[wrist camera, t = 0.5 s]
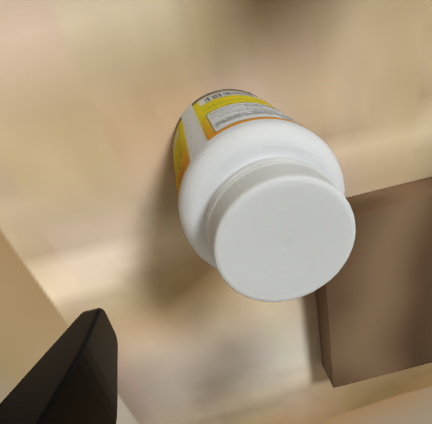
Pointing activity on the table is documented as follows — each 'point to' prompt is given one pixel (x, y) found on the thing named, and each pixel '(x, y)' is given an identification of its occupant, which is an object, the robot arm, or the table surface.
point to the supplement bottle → (260, 197)
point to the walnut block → (381, 288)
